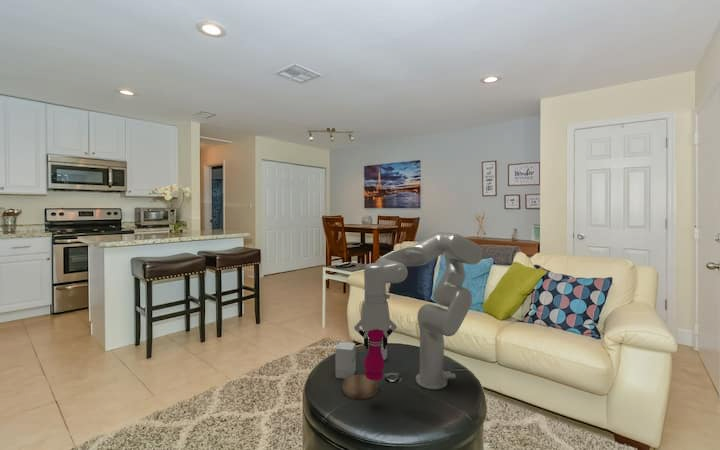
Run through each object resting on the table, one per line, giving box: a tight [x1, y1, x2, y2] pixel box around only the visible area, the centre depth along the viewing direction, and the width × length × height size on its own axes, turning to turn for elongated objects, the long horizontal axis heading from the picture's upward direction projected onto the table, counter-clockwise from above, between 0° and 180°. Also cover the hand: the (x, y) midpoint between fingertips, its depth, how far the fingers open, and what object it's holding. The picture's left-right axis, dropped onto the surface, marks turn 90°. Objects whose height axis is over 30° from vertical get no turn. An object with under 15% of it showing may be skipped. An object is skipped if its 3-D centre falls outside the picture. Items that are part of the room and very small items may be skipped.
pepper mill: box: [363, 329, 385, 381], centre depth 128 cm, size 7×7×20 cm
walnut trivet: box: [341, 373, 379, 400], centre depth 140 cm, size 14×14×2 cm
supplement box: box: [334, 341, 357, 380], centre depth 151 cm, size 7×7×13 cm
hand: (375, 347), depth 128 cm, fingers closed on pepper mill, 5 cm apart
